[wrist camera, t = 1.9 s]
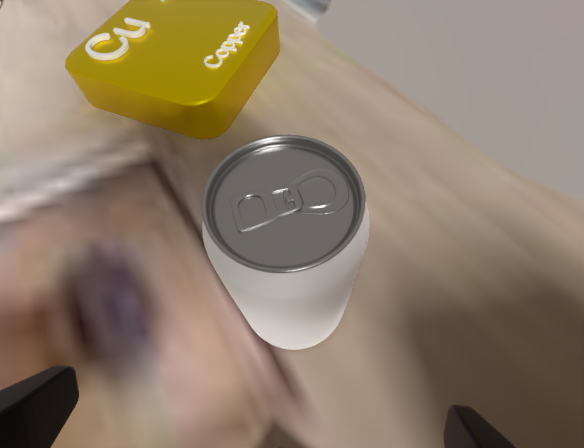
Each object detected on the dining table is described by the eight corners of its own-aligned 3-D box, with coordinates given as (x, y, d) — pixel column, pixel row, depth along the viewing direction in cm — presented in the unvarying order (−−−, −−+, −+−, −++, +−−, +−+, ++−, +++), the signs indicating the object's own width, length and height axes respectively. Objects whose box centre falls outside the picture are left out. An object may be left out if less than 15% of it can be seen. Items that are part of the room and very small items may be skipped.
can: (360, 331, 21) (413, 249, 10) (258, 366, 20) (207, 314, 10) (324, 242, 24) (337, 109, 14) (234, 269, 23) (175, 150, 13)
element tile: (218, 148, 29) (203, 104, 25) (81, 105, 33) (48, 60, 28) (287, 46, 36) (284, -2, 32) (167, 19, 39) (150, -28, 35)
